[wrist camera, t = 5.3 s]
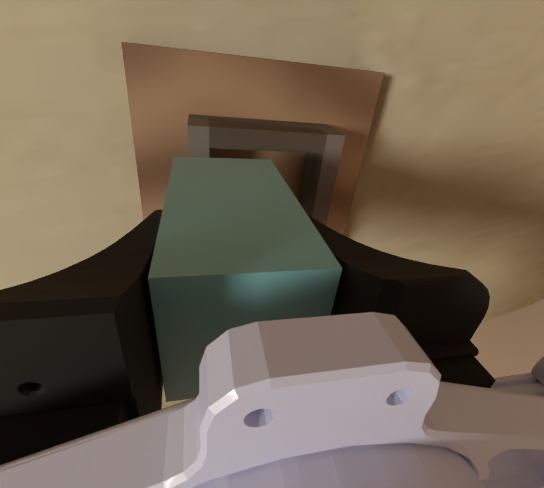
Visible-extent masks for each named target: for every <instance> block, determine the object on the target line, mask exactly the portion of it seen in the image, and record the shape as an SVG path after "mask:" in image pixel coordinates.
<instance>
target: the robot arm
mask: <svg viewBox="0 0 544 488" xmlns="http://www.w3.org/2000/svg"><path fill="white" fill-rule="evenodd" d="M162 211H163V210H155V211H153V212H152V213H151V214H150V215H149V216H148V217H147V218H146V219H145V220H143V221H142V222H141V223H140V224H139V225H137V226H136V227H135V228H134V229H133V230H131V231H130V232H129V233H127V234H126V235H125V236H123V237H122V238H121V239H119V240H118V241H116V242H115V243H114V244H112V245H111V246H109V247H107V248H106V249H104V250H102V251H100V252H99V253H97V254H95V255H93V256H91V257H90V258H88V259H85V260H83V261H81V262H79V263H77V264H74V265H72V266H70V267H68V268H66V269H63V270H61V271H58V272H56V273H53V274H50V275H48V276H45V277H42V278H39V279H36V280H33V281H30V282H27V283H24V284H21V285H17V286H14V287H10V288H6V289H2V290H0V488H544V357H542V358H541V359H540V360H539V361H538V362H537V363H536V364H535V366H534V367H533V369H532V371H531V373H526V374H518V375H511V376H505V377H498V378H493V377H492V376H491V375H490V374H489V373H488V371H487V370H486V369H485V368H484V367H483V366H482V365H481V364H480V363H479V362H478V360H477V359H476V358H475V357H474V356H477V354H478V349H477V348H476V347H475V346H474V344H473V343H472V342H471V341H470V339H471V338H472V336H473V334H474V333H475V331H476V330H477V328H478V326H479V325H480V323H481V321H482V320H483V318H484V316H485V314H486V312H487V310H488V306H489V299H490V296H489V292H488V289H487V288H486V287H485V286H484V285H483V283H481V282H480V281H479V280H478V279H477V278H475V277H474V276H473V275H472V274H471V273H469V272H468V271H466V270H462V269H456V268H450V267H444V266H437V265H431V264H427V263H422V262H418V261H413V260H409V259H405V258H402V257H398V256H395V255H391V254H388V253H385V252H382V251H379V250H376V249H373V248H371V247H368V246H366V245H363V244H361V243H359V242H356V241H354V240H352V239H350V238H348V237H346V236H344V235H342V234H340V233H338V232H336V231H334V230H333V229H331V228H329V227H327V226H326V225H324V224H322V223H321V222H319V221H317V220H316V219H314V218H312V217H311V216H309V215H308V217H309V218H310V220H311V221H312V223H313V224H314V226H315V227H316V229H317V231H318V232H319V234H320V235H321V237H322V238H323V240H324V241H325V243H326V244H327V246H328V247H329V249H330V250H331V252H332V253H333V255H334V256H335V258H336V259H337V261H338V262H339V264H340V265H341V267H342V272H341V276H340V280H339V284H338V288H337V292H336V296H335V300H334V304H333V308H332V311H331V315H330V316H319V317H307V318H295V319H283V320H271V321H259V322H253V323H250V324H246V325H242V326H239V327H235V328H231V329H229V330H227V331H226V332H225V333H223V334H222V335H221V336H219V337H218V338H217V339H216V340H214V341H213V342H212V343H210V344H209V345H208V346H207V347H206V349H205V352H204V355H203V357H202V360H201V363H200V366H199V395H198V396H197V397H195V398H193V399H190V400H187V401H184V402H181V403H178V404H175V405H172V406H170V407H167V408H164V409H161V405H162V386H163V376H162V369H161V363H160V356H159V349H158V342H157V336H156V329H155V322H154V315H153V309H152V302H151V295H150V288H149V282H148V276H149V271H150V266H151V262H152V257H153V252H154V248H155V243H156V239H157V234H158V229H159V225H160V220H161V215H162Z"/></svg>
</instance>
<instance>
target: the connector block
mask: <svg viewBox="0 0 544 488" xmlns="http://www.w3.org/2000/svg"><path fill="white" fill-rule="evenodd" d="M341 272H342V267H341V265H340V264H339V262H338V261H337V259H336V258H335V256H334V255H333V253H332V252H331V250H330V249H329V247H328V246H327V244H326V243H325V241H324V240H323V238H322V237H321V235H320V234H319V232H318V231H317V229H316V227H315V226H314V224H313V223H312V221H311V220H310V218H309V217H308V215H307V214H306V212H305V211H304V209H303V208H302V206H301V205H300V203H299V202H298V200H297V199H296V197H295V196H294V194H293V193H292V191H291V190H290V188H289V186H288V185H287V183H286V182H285V180H284V179H283V177H282V176H281V174H280V173H279V171H278V170H277V168H276V167H275V165H274V164H273V162H272V161H271V160H269V159H235V158H202V157H174V160H173V164H172V169H171V174H170V178H169V183H168V188H167V192H166V197H165V202H164V206H163V211H162V215H161V220H160V225H159V229H158V234H157V239H156V243H155V248H154V252H153V257H152V262H151V266H150V271H149V276H148V282H149V288H150V295H151V302H152V309H153V315H154V322H155V329H156V336H157V342H158V349H159V356H160V363H161V369H162V376H163V383H164V389H165V396H166V402H168V401H176V400H183V399H191V398H195V397H197V396H198V395H199V366H200V363H201V360H202V357H203V355H204V352H205V349H206V347H207V346H208V345H209V344H210V343H212V342H213V341H214V340H216V339H217V338H218V337H219V336H221V335H222V334H223V333H225V332H226V331H227V330H229V329H231V328H235V327H239V326H242V325H246V324H250V323H253V322H259V321H271V320H283V319H295V318H307V317H319V316H330V315H331V311H332V308H333V304H334V300H335V296H336V292H337V288H338V284H339V280H340V276H341Z"/></svg>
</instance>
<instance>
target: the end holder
mask: <svg viewBox="0 0 544 488" xmlns="http://www.w3.org/2000/svg"><path fill="white" fill-rule="evenodd" d="M122 50H123V59H124V67H125V75H126V83H127V91H128V99H129V107H130V115H131V123H132V131H133V139H134V147H135V155H136V163H137V171H138V179H139V187H140V195H141V203H142V211H143V219H144V220H145V219H146V218H147V217H148V216H149V215H150V214H151V213H152V212H153V211H155V210H163V206H164V202H165V197H166V192H167V188H168V183H169V178H170V174H171V169H172V164H173V160H174V157H202V158H235V159H269V160H271V161H272V162H273V164H274V165H275V167H276V168H277V170H278V171H279V173H280V174H281V176H282V177H283V179H284V180H285V182H286V183H287V185H288V186H289V188H290V190H291V191H292V193H293V194H294V196H295V197H296V199H297V200H298V202H299V203H300V205H301V206H302V208H303V209H304V211H305V212H306V214H307V215H309V216H311V217H312V218H314V219H316V220H317V221H319V222H321V223H322V224H324V225H326V226H327V227H329V228H331V229H333V230H334V231H336V232H338V233H340V234H342V235H344V231H345V227H346V223H347V219H348V215H349V211H350V207H351V203H352V199H353V195H354V191H355V187H356V183H357V179H358V175H359V171H360V167H361V163H362V159H363V155H364V151H365V147H366V143H367V139H368V136H369V132H370V128H371V124H372V120H373V116H374V112H375V108H376V104H377V100H378V96H379V92H380V88H381V84H382V80H383V76H384V73H382V72H374V71H366V70H357V69H349V68H340V67H331V66H323V65H314V64H306V63H297V62H289V61H280V60H272V59H263V58H254V57H246V56H237V55H229V54H220V53H212V52H203V51H195V50H186V49H177V48H169V47H160V46H152V45H143V44H135V43H126V42H122Z"/></svg>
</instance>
